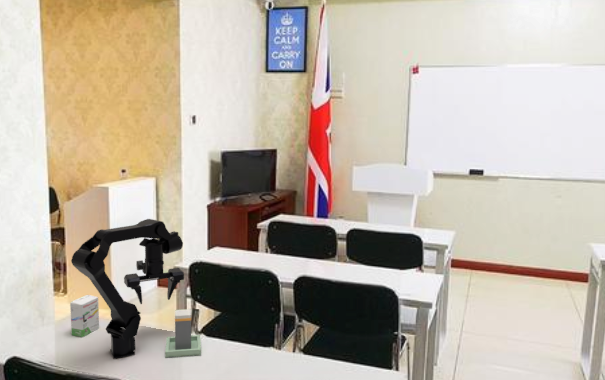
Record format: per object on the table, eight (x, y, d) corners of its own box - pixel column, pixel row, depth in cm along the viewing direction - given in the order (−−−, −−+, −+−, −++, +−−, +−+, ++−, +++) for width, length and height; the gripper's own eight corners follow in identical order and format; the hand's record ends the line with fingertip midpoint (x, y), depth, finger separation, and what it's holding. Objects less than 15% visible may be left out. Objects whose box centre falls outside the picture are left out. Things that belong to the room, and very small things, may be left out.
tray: (165, 358, 160) (165, 352, 160) (166, 342, 171) (166, 336, 171) (200, 355, 163) (200, 349, 163) (200, 340, 173) (200, 334, 173)
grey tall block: (175, 351, 164) (174, 316, 162) (175, 344, 169) (175, 309, 167) (191, 350, 165) (191, 315, 163) (191, 343, 170) (191, 309, 168)
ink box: (82, 337, 173) (81, 304, 171) (70, 335, 174) (69, 302, 173) (100, 327, 181) (98, 296, 179) (88, 325, 182) (87, 294, 181)
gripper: (175, 247, 181) (175, 289, 184) (120, 254, 172) (121, 298, 174) (184, 256, 172) (184, 300, 174) (127, 262, 163) (128, 309, 165)
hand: (155, 301), depth 172 cm, fingers open, 9 cm apart
